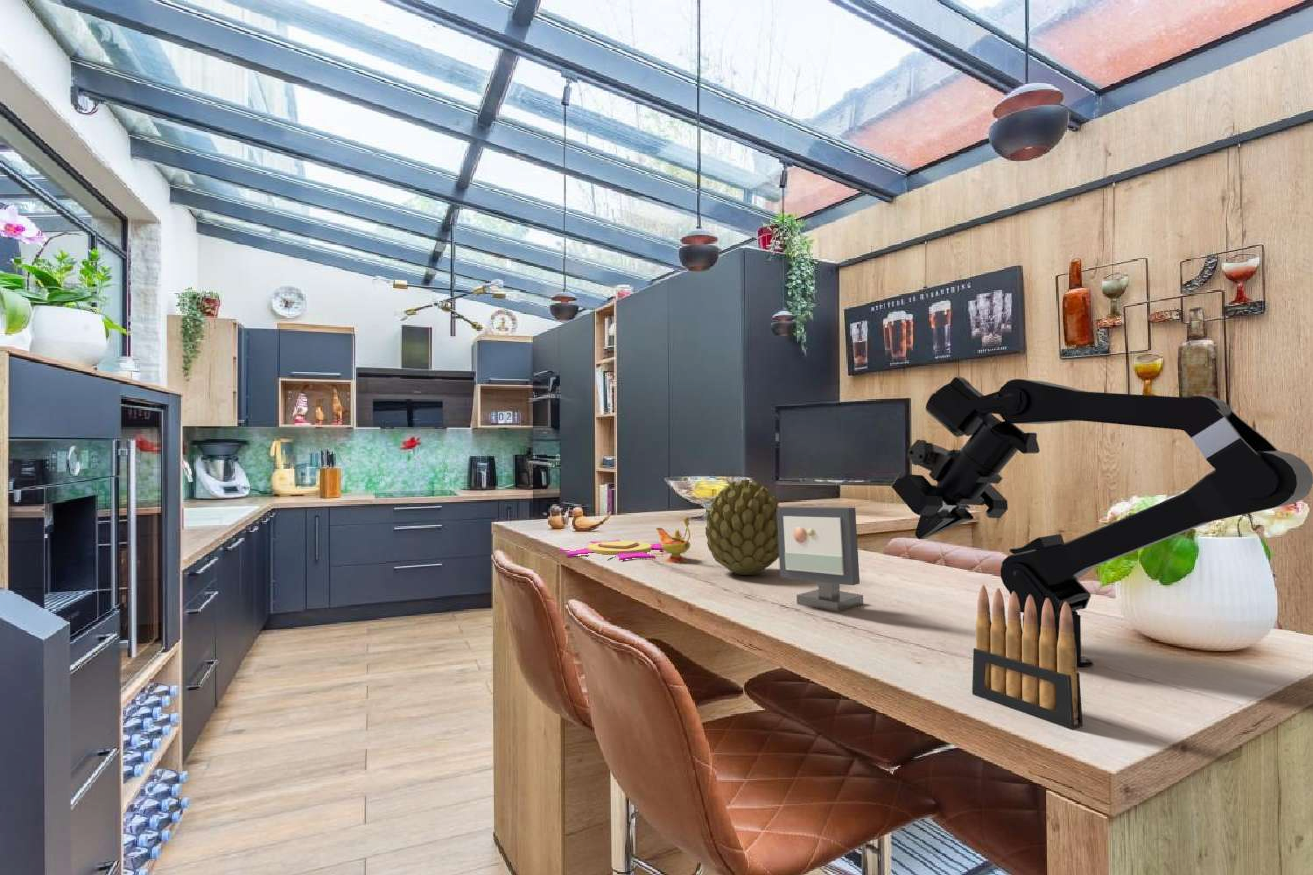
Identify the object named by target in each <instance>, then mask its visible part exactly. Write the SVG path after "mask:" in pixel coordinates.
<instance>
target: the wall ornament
mask: <svg viewBox="0 0 1313 875" xmlns="http://www.w3.org/2000/svg"><path fill="white" fill-rule="evenodd" d="M589 542H591V543H593V544H591V545H589V544H588V545H587V546H588V548H584V549H581V550H576V551H570V550H563V549H564V548H560V549H558V550H559V551H558V552H559V553H561V554H563V553H562V551H570V552H569V553H568V554H566V558H567V559H568V558H575V557H574V556H575V555H578V554H588V553H596V554H602V555H617V556H618V557H619V559H620V560H625V559H632V558H656V557H657V556H654V555H662V556H663V555H664V554H663V553H665V554H669V553H668V552H666V551H664V552H661V553H654V554H651V555H650V554H647V552H650V551H651V550H664V549H663V548H662V546H661V542H659V543H647V542H641V541H632V540H623V541H622V540H620V539H614V540H608V541H599V540H598V541H592V540H591V541H588V543H589ZM619 559H618V560H619ZM620 560H619V561H620Z"/></svg>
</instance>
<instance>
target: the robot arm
mask: <svg viewBox="0 0 1313 875" xmlns="http://www.w3.org/2000/svg"><path fill="white" fill-rule="evenodd" d="M925 411H926V412H927V413H928V414H929V415H930V416H931V417H932V418H934V420H935V421H937V423H939V424H940V425H941V426H942V427H944V428H945V429H946V430H947V431H949V432H950V434H952V435H953V436H954V437H956V438H958V437H962V436H966V437H969V438H968V440H967V441H966V442H965V444H964V445H963V446H962V447H961V449H954V448H953V449H950V450H949V449H947V448H944V447H943V446H939V445H935V444H933V442H927V440H926V439H925V440H924V439H916V440H915V442H914V443H912V445H911V446H910V447H909V448H908V453H907V457H908V459H909V460H911V462H910V463H911V464H912V465H914V466H919V467H921V468H924V469H926V470H927V471H930V472H929V473H928V476H929V477H930V478H931V480H933V481H936V482H937V483H936V484H935V485H934V484H932V483H930V482H929V480H928V479H927V478H926V477H925V476H924V475H923V474H909V473H908V474H907V473H905V474H904V473H903V474H898V475H897V477H896V478H895V480H894V481H893V483H891V488H892V489H893V490H894V491H895V493H896V494H897V495H898V496H899V498H901V500H902V501H903V502H904V503H905V505H906V506H907V507H908V508H909V509H910V510H911V511H912V512H913V513H914V514H915V515H917V516H919V519H918V522H917V526H916V529H915V533H914V536H915V537H916V538H917V539H918V540H924V539H927V538H929V537H931V536H934V535H936V534H938V533H941V532H943V531H945V530H948V529H950V528H953V527H955V526H958V525H961V524H963V523H965V522H969V521H971V522H972V521H973V520H974V516H973V515H972V514H971V513H970V509H971V506H986V507H987V509H986V511H985V515H986V517H988V518H989V519H991V518H992V519H1001V518H1002V517H1003V515H1004V514H1005V513H1006V512H1007V511H1008V508H1009V506H1008V500H1007V499H1006V497H1004V496H1003V495H1002V494H1001V492H1000V491H999V490H997V489H996V488H995V486H993V485H992V484H996V485H997V484H999V483H1001V481H1002V480H1003V479H1004V478H1003V477H1002V476H1001V475H1000V473H1001V472H1002V470H1003V469H1004V468H1005V467H1006V465H1007V464H1008V463H1009V462H1010V461H1011V460H1012V459H1013V457H1014V456H1015V455H1016V454H1017V452H1018V451H1019V452H1020V453H1021V454H1024V455H1028V454H1029V455H1030V454H1038V453H1040V451H1041V450H1040V447H1039V443H1038V440H1037V438H1038V434H1037V433H1036V432H1025V431H1024V430H1022V429H1021V428H1019V426H1017V425H1016V424H1021V425H1023V424H1026V425H1042V424H1043V425H1046V424H1047V425H1048V424H1058V423H1059V424H1060V423H1061V424H1062V423H1069V422H1070V423H1071V422H1091V423H1102V424H1113V425H1125V426H1134V427H1135V426H1137V427H1146V428H1158V429H1167V430H1169V429H1170V430H1178V431H1180V430H1181V431H1184V432H1185V433H1186V435H1187V436H1189V437H1190V439H1191V440H1192V442H1193V443H1194V445H1195V446H1196V447H1197V449H1198V450H1199V451H1200V453H1201V455H1202V456H1203V458H1205V461H1207V463H1208V464H1209V465H1211V467H1213V469H1214V470H1212V471H1210V472H1209V473H1207V474H1206V475H1205V476H1204V477H1202V478H1201V479H1200V480H1199V481H1198V480H1197V482H1196V483H1195V484H1193V486H1191V487H1189V488H1188V489H1187V490H1185V491H1183V492H1182V493H1180V494H1178V495H1175V496H1173V497H1170V498H1169V499H1166V500H1163V501H1161V502H1159V503H1156V504H1154V505H1151V506H1150V507H1147V508H1145V509H1142V510H1140V511H1138V512H1135V513H1133V514H1130V515H1128V516H1126V517H1124V518H1121V519H1119V520H1117V521H1114V522H1112V523H1109V524H1108V525H1107V524H1106V525H1104V526H1102V527H1100V528H1097V529H1095V530H1093V531H1091V532H1088V533H1086V534H1083V535H1081V536H1078V537H1076V538H1074V539H1071V540H1069V541H1067V542H1065V540H1064V538H1063V535H1062V534H1061V533H1056V534H1051V535H1046V536H1045V535H1044V536H1040V537H1036V538H1034V539H1033V540H1031V541H1030V542H1029V543H1027V544H1025V545H1024V546H1020V547H1015V548H1010V549H1009V552H1010V553H1011V554H1010V555H1008V556H1007V557H1005V558H1004V559H1003V561H1001V567H1000V578H1001V581H1002V584H1003V586H1004V587H1005V589H1006V591H1008V593H1009V595H1010V596H1011V594H1012V592H1013V591H1015V592H1016V594H1017V597H1018V600H1019V604H1020V612H1021V613H1022V614H1023V615H1022V629H1023V628H1024V610H1025V604H1026V600H1027V598H1028V596H1029V595H1032V597H1033V599H1034V602H1035V606H1036V611H1037V623H1038V632H1039V637H1040V634H1041V617H1042V609H1043V605H1044V602H1045V600H1046V598H1049V599H1050V601H1051V604H1052V607H1053V611H1054V618H1055V630H1056V638H1057V643H1058V639H1059V621H1060V613H1061V609H1062V606H1063V604H1064V602H1068V604H1069V606H1070V609H1071V613H1072V618H1073V631H1074V640H1075V644H1076V655H1077V667H1081V666H1082V667H1083V666H1094V660H1091V659H1090V658H1087V657H1086V656H1085V657H1084V656H1082V633H1081V632H1082V631H1081V630H1082V629H1081V628H1082V626H1081V624H1082V623H1081V622H1082V621H1081V615H1080V614H1078V611H1079V610H1085V609H1086V608H1087V607H1088V604H1089V601H1090V600H1091V597H1092V594H1091V592H1089V590H1088V589H1086V588H1085V586H1084V585H1083V584H1081V582H1080V581H1079V580H1080V579H1081V578H1082V577H1083V576H1085V575H1086V574H1087V573H1088V572H1090V571H1091V570H1092V569H1094V568H1096V567H1098V566H1100V565H1102V564H1105V563H1108V562H1110V561H1114V560H1115V559H1119V558H1121V557H1123V556H1127V555H1129V554H1132V553H1135V552H1136V551H1140V550H1142V549H1145V548H1148V547H1150V546H1152V545H1154V544H1157V543H1159V542H1163V541H1165V540H1168V539H1170V538H1173V537H1175V536H1178V535H1181V534H1183V533H1186V532H1189V531H1191V530H1194V529H1196V528H1198V527H1199V528H1200V527H1202V526H1204V525H1207V524H1209V523H1212V522H1216V521H1219V520H1224V519H1228V518H1233V517H1237V516H1243V515H1247V514H1252V513H1253V514H1254V513H1257V512H1261V511H1265V510H1266V511H1267V510H1272V509H1276V508H1280V507H1281V508H1282V507H1285V506H1289V505H1293V504H1296V503H1299V502H1300V501H1302V500H1304V499H1305V498H1306V497H1307V496H1308V495H1309V494H1310V492H1311V490H1312V487H1313V472H1312V470H1311V468H1310V466H1309V465H1308V464H1307V463H1306V462H1305V461H1304V460H1303V459H1302V458H1300V457H1299V456H1296V455H1294V454H1292V453H1289V452H1286V451H1280V450H1278V448H1277V447H1275V446H1274V444H1272V443H1271V442H1270V440H1268V439H1267V438H1266V437H1265V436H1263V435H1262V434H1260V432H1258V431H1257V430H1256V429H1255V428H1253V427H1252V426H1251V425H1250V424H1249V423H1247V422H1245V420H1243V419H1242V418H1241V417H1240V416H1239V415H1237V413H1235V412H1234V411H1233V410H1232V409H1231V408H1230V406H1229V404H1228V403H1227V402H1225V401H1224V400H1223V399H1220V398H1219V397H1212V396H1204V395H1193V396H1186V397H1183V396H1169V395H1167V396H1165V395H1153V394H1152V395H1149V394H1132V393H1131V394H1130V393H1129V394H1127V393H1115V392H1114V393H1113V392H1100V391H1099V392H1098V391H1097V392H1096V391H1087V390H1081V389H1077V388H1074V387H1070V386H1065V385H1061V384H1056V383H1052V382H1048V381H1043V380H1032V379H1021V378H1015V379H1010V380H1007V381H1006V382H1005V384H1003V385H1002V386H1001V387H1000V388H999V390H998V391H995V392H992V393H988V394H985V395H983V393H981V392H980V391H979V390H978V389H977V388H975V387H974V386H973V385H972V384H971V382H969V380H967V379H966V378H964V377H959V376H956V377H955V376H954V377H953V378H952V380H951V381H950V382H949V383H947V384H945V385H942V386H941V387H940V388H939V389H938V390H936V392H934V393H932V394H931V395H930V397H929V398H928V399H927V401H926V405H925ZM994 414H995V415H999V416H1000V417H1001V419H1002V420H1003V421H1002V420H1001V419H999V418H997V417H996V416H995V415H994Z"/></svg>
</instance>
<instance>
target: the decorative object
mask: <svg viewBox="0 0 1313 875" xmlns="http://www.w3.org/2000/svg"><path fill="white" fill-rule="evenodd" d="M777 507H781V506H780V505H779V502H778V500H777V499H776V497H775V496H774V495H773V496H772V494H771V492H770V491H769V489H768V488H766V487H765V486H764V485H762V486H761V483H759V482H757V481H755V480H753V481H750V480H749V479H740V481H737V482H736V481H732V482H730V483H729V484H728V485H727V486H726V487H724V488H723V489H721V490H720V491H719V493H718V494H717V495H715V498H714V499H713V501H712V502H711V505H710V510H709V509H708V512H707V516H706V526H705V536H706V539H707V541H706V544H707V546H708V550H709V552H710V553H711V555H712V558H713V559H714V560H715V561H716V563H718V564H720V565H721V566H723V567H724V568H726V569H727V570H728V571H729V572H732V573H734V574H737V575H740V576H753V575H756V574H759V573H761V572H763V570H766V568H768V567H770V566H772V564H774V562H776V561H777V560H778V559H779V544H778V525H777Z"/></svg>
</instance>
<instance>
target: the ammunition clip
mask: <svg viewBox="0 0 1313 875" xmlns="http://www.w3.org/2000/svg"><path fill="white" fill-rule="evenodd" d="M977 598H978V599H977V615H976V622H975V648H973V649H972V655H973V657H972V663H973V664H972V680H971V681H972V682H971V683H972V684H971V685H972V688H971V689H972V690H971V693H972V695H973V696H976V697H978V698H980V699H983V700H987V701H989V702H993V703H996V704H999V705H1001V706H1003V707H1006V708H1009V709H1012V710H1015V711H1017V712H1021V713H1023V714H1025V715H1029V716H1032V717H1034V718H1037V719H1040V720H1043V721H1046V722H1048V723H1051V724H1054V725H1057V726H1059V727H1062V728H1066V729H1068V730H1075V729H1077V728H1080V727H1082V726H1084V725H1083V711H1082V710H1083V709H1082V707H1083V706H1082V695H1081V680H1080V679H1081V678H1080V677H1081V676H1080V675H1081V674H1080V672H1078V670H1077V669H1078V666H1077V655H1076V644H1075V640H1074V631H1073V618H1072V613H1071V609H1070V606H1069V604H1068V602H1064V604H1063V606H1062V609H1061V613H1060V621H1059V639H1058V643H1057V638H1056V630H1055V618H1054V611H1053V607H1052V604H1051V601H1050V599H1049V598H1046V600H1045V602H1044V605H1043V609H1042V617H1041V634H1040V637H1039V632H1038V623H1037V611H1036V606H1035V602H1034V599H1033V597H1032V595H1029V596H1028V598H1027V600H1026V604H1025V610H1024V613H1023V615H1024V628H1023V625H1022V618H1021V615H1022V614H1021V613H1022V612H1020V604H1019V600H1018V597H1017V594H1016V592H1015V591H1013V592H1012V594H1011V596H1010V597H1009V600H1008V606H1007V607H1008V608H1007V620H1006V608H1005V607H1006V606H1005V601H1004V597H1003V593H1002V591H1001V589H1000V587H998V588H996V590H995V593H994V595H993V601H992V614H991V609H990V608H991V607H990V606H991V604H990V597H989V594H988V590H987V588H986V586H985V584H984V585H982V586H981V587H980V591H979V593H978V597H977ZM1006 621H1007V622H1006Z"/></svg>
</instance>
